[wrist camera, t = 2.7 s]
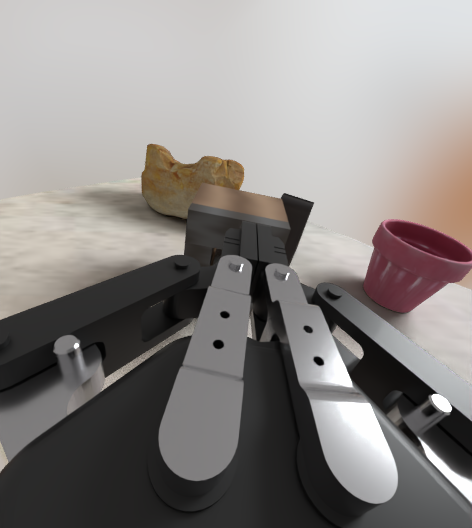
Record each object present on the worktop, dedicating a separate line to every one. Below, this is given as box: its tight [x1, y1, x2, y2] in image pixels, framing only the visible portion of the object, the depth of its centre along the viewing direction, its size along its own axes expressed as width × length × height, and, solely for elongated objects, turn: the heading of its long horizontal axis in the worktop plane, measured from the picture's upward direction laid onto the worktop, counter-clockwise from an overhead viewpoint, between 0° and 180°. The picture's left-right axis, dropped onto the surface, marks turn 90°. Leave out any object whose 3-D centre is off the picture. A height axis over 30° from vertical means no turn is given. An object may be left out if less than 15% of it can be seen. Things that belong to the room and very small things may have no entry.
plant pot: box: [363, 219, 472, 313], centre depth 45 cm, size 14×14×13 cm
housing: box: [184, 183, 291, 314], centre depth 37 cm, size 12×10×14 cm
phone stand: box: [281, 193, 314, 265], centre depth 51 cm, size 9×6×12 cm, turn 157°
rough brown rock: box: [141, 144, 244, 219], centre depth 59 cm, size 23×17×15 cm
